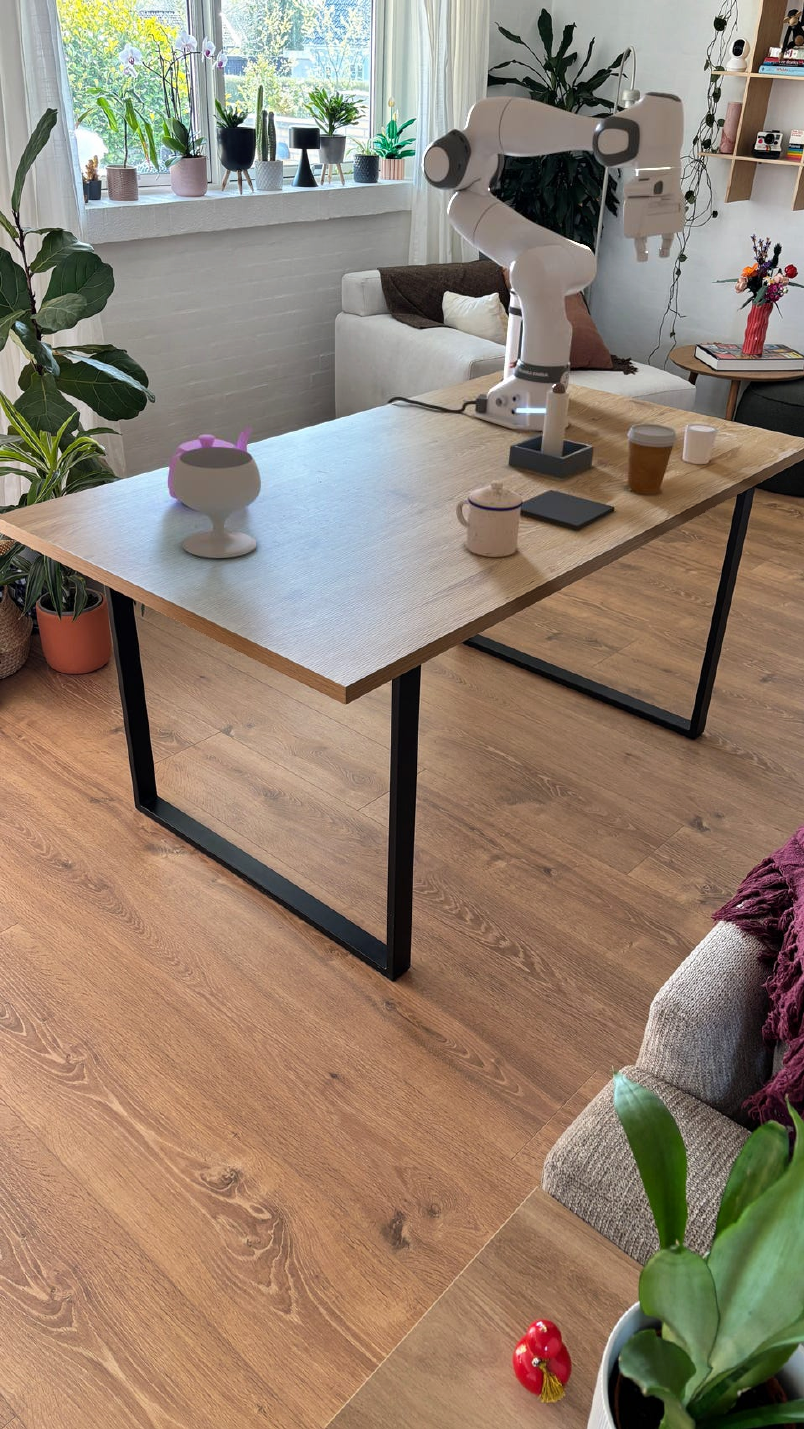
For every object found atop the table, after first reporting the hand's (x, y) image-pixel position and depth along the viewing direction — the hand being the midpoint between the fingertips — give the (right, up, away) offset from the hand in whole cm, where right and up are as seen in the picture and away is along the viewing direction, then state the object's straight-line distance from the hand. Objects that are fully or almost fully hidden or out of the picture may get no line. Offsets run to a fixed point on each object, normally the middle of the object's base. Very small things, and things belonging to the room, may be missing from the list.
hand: (653, 259), depth 223 cm
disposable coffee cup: (-4, -49, -7) cm, 50 cm away
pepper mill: (-21, -42, +2) cm, 47 cm away
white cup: (+12, -39, +12) cm, 42 cm away
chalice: (-82, -66, -43) cm, 114 cm away
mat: (-22, -56, -21) cm, 63 cm away
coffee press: (-20, -9, +60) cm, 64 cm away
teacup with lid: (-38, -65, -38) cm, 84 cm away
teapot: (-86, -54, -23) cm, 104 cm away
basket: (-21, -42, +3) cm, 47 cm away
